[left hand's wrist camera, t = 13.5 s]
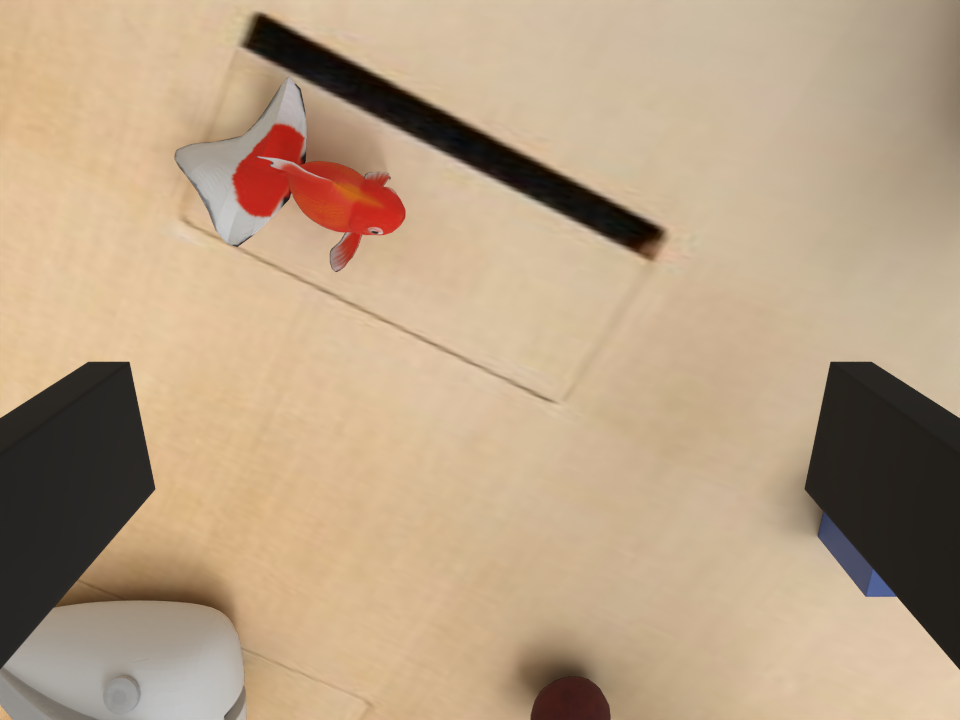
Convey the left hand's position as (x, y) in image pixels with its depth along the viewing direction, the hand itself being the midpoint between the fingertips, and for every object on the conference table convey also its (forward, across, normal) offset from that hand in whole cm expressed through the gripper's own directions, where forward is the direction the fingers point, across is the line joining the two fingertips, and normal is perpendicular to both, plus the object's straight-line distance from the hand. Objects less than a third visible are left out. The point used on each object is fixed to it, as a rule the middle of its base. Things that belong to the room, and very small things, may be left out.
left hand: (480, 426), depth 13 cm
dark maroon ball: (+37, +8, -47) cm, 60 cm away
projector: (+37, -33, -42) cm, 65 cm away
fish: (+37, -12, +1) cm, 39 cm away
